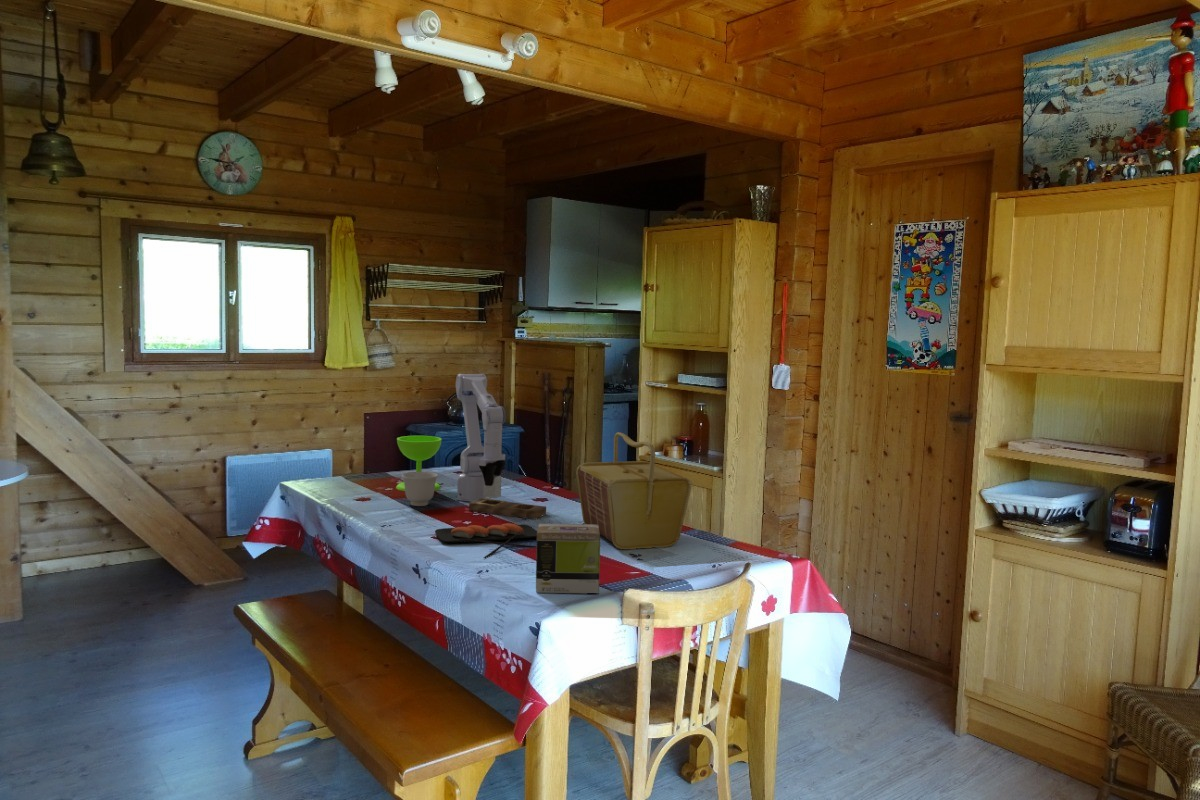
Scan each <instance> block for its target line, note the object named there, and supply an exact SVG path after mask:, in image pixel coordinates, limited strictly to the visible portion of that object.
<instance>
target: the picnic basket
mask: <svg viewBox="0 0 1200 800" xmlns="http://www.w3.org/2000/svg"><path fill="white" fill-rule="evenodd" d="M619 437H621V438H622V439H623V440H624V442H625V443H626V444H627V445H628V446H630V447H633V448H643V447H644V446H646V447H648V448H649V450H650V452H649V453H650V459H649V460H650V461H646V460H643V461H642V460H638V461H637V460H636V461H619V460H618V459H619V457H618V455H619V452H618V451H619ZM655 449H656V448H655V447H654V444H651V443H649V442H647V441H638V442H636V441H634V440H633V439H631V437H629V436H628V435H627V434H625V433H623V432H619V431H618V432H616V433H615V434H614V438H613V461H601V462H600V461H599V462H584V463H581V464H580V465H578V467H577V468H576V470H575V473H576V481H577V487H578V495H579V500H580V501H579V502H580V508H581V509H580V510H581V517H582V521H583V524H598V525H599V532H600V536H602V537H604V538H606V540H607V541H609V542H611V543H612V544H613V545H614V546H615V547H616V548H617V549H619V550H622V549H631V550H637V549H636V548H647V549H653V548H652V547H662V548H668V547H672V546H674V545H675V544H676V543H677V542H678V541H679V540H680V538H681V535H682V534H681V533H682V529H683V525H684V522H685V516H686V512H687V509H688V504H689V499H690V495H691V491H692V482H691V480H690V479H689V478H687V477H684V476H681V475H679V474H677V473H676V472H672V471H670V470H667V469H665V468H662V466H661V467H660V466H658V465H656V464H655V460H656V450H655Z"/></svg>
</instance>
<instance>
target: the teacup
mask: <svg viewBox="0 0 1200 800" xmlns="http://www.w3.org/2000/svg"><path fill="white" fill-rule="evenodd" d="M401 477H402V478H403V482H404V485H405V491H404V493H405V496H406V498H407V500H409V501H410V505H411V506H415V507H425V506H428V505H429V501H430V500H432V499H433V497H434V494H435V491H434V489H435V483H437V479H438V477H439V474H437V473H436V472H431V471H421V472H416V471H409V472H404V473H402V474H401Z"/></svg>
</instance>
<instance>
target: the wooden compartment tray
mask: <svg viewBox="0 0 1200 800" xmlns="http://www.w3.org/2000/svg"><path fill="white" fill-rule="evenodd" d="M468 504H469V505H468V511H470V512H479V513H484V514H485V513H486V514H492V515H493V514H494V515H499V516H500V515H501V516H502V515H503V516H509V517H515V516H518V517H517V518H523V517H526V518H525V519H531V518H535V519H534V520H536V518H537V519H539V518H541V517H543V516H545V515H547V506H543V505H538V504H537V505H536V504H529V503H528V504H527V503H520V502H511V501H507V500H500V499H499V500H498V499H494V498H491V499H478V500H476V501H473V502H470V501H469V502H468ZM544 514H545V515H544ZM542 515H543V516H542ZM540 516H541V517H540ZM538 517H539V518H538Z"/></svg>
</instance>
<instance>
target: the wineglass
mask: <svg viewBox="0 0 1200 800" xmlns="http://www.w3.org/2000/svg"><path fill="white" fill-rule="evenodd" d="M442 440H443V439H442V437H437V436H431V435H430V436H429V435H407V436H405V435H404V436H400V437H397V438H396V443H397V446H398V449H399V451H400V452H401V453H402V455H403V456H404V457H406V458H407V459H409V460H412V461H415V462H416V463H415V465H416V466H415V467H416V468H415V472H422V466H423V465H422V463H423V461H427V460H428V459H431V458H432V457H433V456H435V455H436V453H437V452H439V450H440V447H442ZM395 488H396V490H398V491H402V492H405V485H404V481H403V482H400V483H398V484H397V485H396V487H395ZM441 488H442V487H441V485H440V484H439V483H437V482H435V489H434V492H435V491H438V490H440V489H441Z"/></svg>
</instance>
